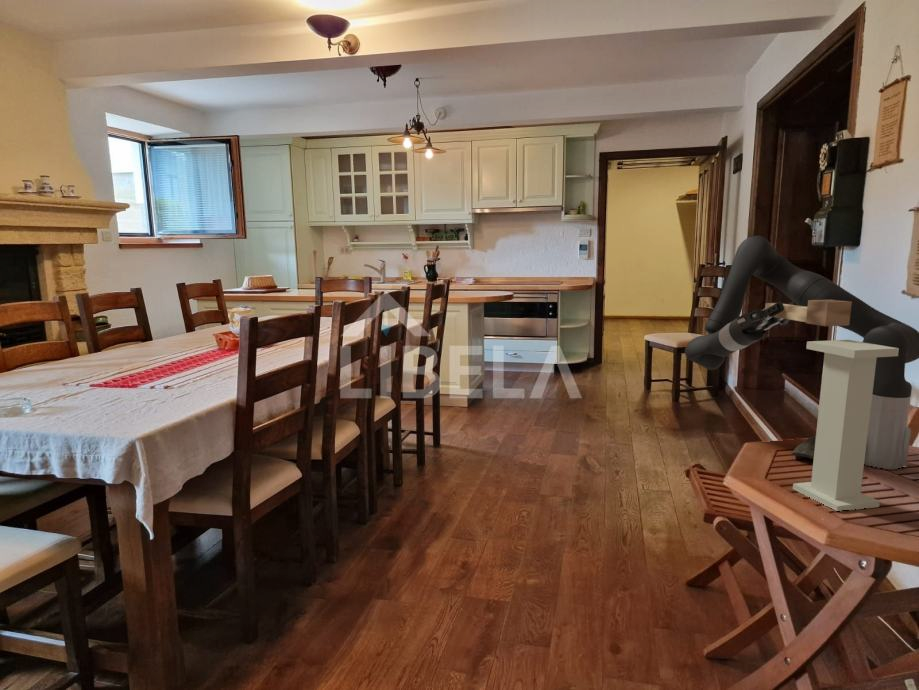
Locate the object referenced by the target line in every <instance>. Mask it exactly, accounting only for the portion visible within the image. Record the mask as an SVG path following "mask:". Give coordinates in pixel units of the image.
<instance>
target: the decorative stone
mask: <svg viewBox="0 0 919 690" xmlns="http://www.w3.org/2000/svg"><path fill="white" fill-rule="evenodd" d="M815 441H816V435H812V436H810V437H808V438H807V439H805V440H804V441H802V442H801V443H800V444H798V445H797V446H796V447H795V448H794V449H793V450H792V452H790V455H791V456H794V457H801V458H802V457H805V458H806V459H807V458H808V459H811V460H814V451H815Z"/></svg>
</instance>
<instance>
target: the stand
mask: <svg viewBox="0 0 919 690" xmlns="http://www.w3.org/2000/svg"><path fill="white" fill-rule="evenodd" d="M805 347H806V350H811V351H816V352H821V353H824V355H823V366H822V374H821V382H820V383H821V385H820V394H819V401H818V402H819V404H818V413H817V422H816V423H817V424H816V433H815V436H816V441H815V451H814V459H812V460H813V461H812V462H813V463H812V471H811V472H812V473H811V481H806V482H795V483H793V484H792V490H794V491H796V492H797V493H800V494H801V495H803V494H804V495H803V496H805V497H807V498H809V497H810V499H811V500H813V499H814V500H813V501H815V500H816V501H815V502H817V501H818V502H817V503H819V502H820V503H819V504H821V503H822V504H821V505H823V504H824V505H823V506H824V507H826V506H828V507H830V508H832V509H834V510H836V511H840V512H843V511H842V510H849V511H856V510H865V509H864V508H866V509H874V508H879V507H880V502H881V501H880V500H879V499H876V498H873V497H872V496H869V495H867V494H866V493H863V492H862V483H863V476H864V474H863V473H864V469H865V468H864V467H865V465H864V460H865V452H866V443H867V435H868V426H869V418H870V409H871V401H872V392H873V384H874V376H875V367H876V359H877V357H892V356H898V352H899V348H894V347H888V346H882V345H876V344H870V343H864V342H863V341H857V340H853V339H852V340H851V339H835V340H813V341H806V346H805ZM828 507H827V508H828ZM830 508H829V509H830ZM832 509H831V510H832ZM855 509H856V510H855ZM834 510H833V511H834ZM836 511H835V512H836Z"/></svg>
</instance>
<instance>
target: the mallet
mask: <svg viewBox="0 0 919 690" xmlns="http://www.w3.org/2000/svg"><path fill="white" fill-rule="evenodd" d="M776 303H777V302H765V305H764V306H765V307H764V308H769V307H771V306H772V305H774V304H776ZM851 305H852V302H850V301H840V300H808V307H805V306H799V305H797V304H796V305H789V304H788V303H783V307H784V310H783V311H782V312H780V313H778V314H777V315H775V316H772V317H777V318H783V319H790V321H796V322H797V321H798V322H803V323H805V324H809V325H815V326H820V327H821V326H822V327H839V326H846V325H849V322H850V313H851Z"/></svg>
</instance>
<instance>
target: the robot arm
mask: <svg viewBox="0 0 919 690" xmlns="http://www.w3.org/2000/svg"><path fill="white" fill-rule="evenodd" d="M752 276H753V277H756V278H758V279H761V280H762V281H763V282H766V283H768V284H770V285H772V286H773V287H775V288H777V289H778V290H780V291H781V293H783V295H784V296H786V297H787V298H789V299H790V300H791V301H790V302H788V303H787V304H789V305H797V306H805V307H808V300H840V301H850V302H852V305H851V313H850V322H849V325H846V326H838V327H839V328H842V329H845V330H848V331H850V332H853V333H855V334H856V335H858V336H859V337H861V338H863V340H862V342H864V343H870V344H876V345H882V346H888V347H894V348H899V352H898V356H892V357H877V359H876V367H875V376H874V384H873V392H872V401H871V409H870V418H869V426H868V435H867V443H866V452H865V460H864V464H865V465H864V466H867V465H869V466H868V467H870V466H873V467H872V468H875V467H877V468H876V469H880V468H883V469H882V470H899V469H898V468H900V467H903V466H906V467H907V465H908V457H909V450H910V449H909V448H910V443H911V442H910V441H911V433H912V429H911V428H910V427H909V426H908V421H909V413H910V405H911V399H912V398H911V397H912V391H913V390H912V389H913V386H912V384H911V383H910V382H909V381H907V379H906V378H905V371H906V364H909V363H911V362H914V361H916V360H918V359H919V331H918V330H917V329H916V328H915V327H913V326H910V325H909V324H906V323H905V322H902V321H900V320H897V319H896V318H894V317H892V316H889V315H888V314H885V313H883V312H882V311H880V310H878V309H876V308H874V307H872V306H871V305H870V304H868V303H867V302H865V301H863V300H861V299H860V298H859V297H857V296H856V295H854V294H852V293H851V292H850V291H847V290H846V289H844V288H843V287H841V286H840V285H838V284H837V283H835V282H833V281H832V280H830V279H829V278H827V277H824V276H823V275H821V274H819V273H816V272H813V271H810V270H805V269H803V268H799V267H797V266H796V265H794V264H793V263H791V262H790V261H789V260H787V259H786V258H785V257H783V255H782V254H780V253H779V252H778V250H777V249H775V247H774V245H772V243H771V242H770V241H769V240H768V239H767V238H766V237H764V236H762V235H752V236H749V237H747V238H745V239H744V240H742V242H741V243H739V245H738V247H737V248H736V252H735V254H734V258H733V260H732V264H731V267H730V269H729V272H728V275H727V278H726V281H725V284H724V286H723V288H722V291H721V294H720V296H719V299H718V300H717V302H716V304H715V306H714V308H713V310H712V312H711V314H710V316H709V318H708V319H707V321H706V323H705V325H704V331H706V333H708V334H704V335H699V336H696V337H694V338H692V339H691V340H690V341H689V342H688V343H687V344H686V345H685V349H684V355H685V357H686V358H687V359H688V361H691V362H693V363H694V364H696V365H698V366H700V367H703V368H704V369H707V370H709V371H714V370H716V369H718V368H720V367H721V365H723V363H724V361H725V358H726V357H727V356H729V355H732V354H733V353H735V352H737V351H739V350H742V349H743V350H744V349H745V348H747V347H749V346H751V345H753V344H754V343H757V342H758V341H760V340H762V339H763V338H764V336H765V335H766V332H767V330H768V331H769V330H770V329H771V328H773V327H774V326H776V325H779V324H780V326H783V327H784V326H786V325H787V324H788V323H790V321H791V320H790V319H783V318H777V317H772V316H775V315H777V314H778V313H780V312H782V311H783V310H784V307H783V304H784V303H783V301H777V302H775V303H776V304H774V305H772V306H771V307H769V308H765V307H764V308H763V309H761V308H757V309H754V310H752V311H750V312H746V313H743V314H742V311H743V307H744V302H745V298H746V297H745V296H746V293H747V289H748V286H749V283H750V281H751V278H752ZM900 469H901V468H900Z"/></svg>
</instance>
